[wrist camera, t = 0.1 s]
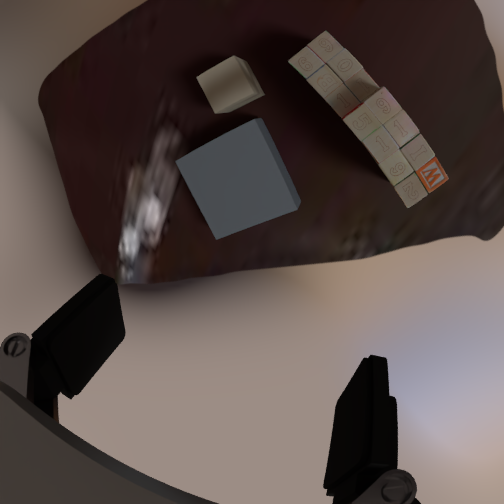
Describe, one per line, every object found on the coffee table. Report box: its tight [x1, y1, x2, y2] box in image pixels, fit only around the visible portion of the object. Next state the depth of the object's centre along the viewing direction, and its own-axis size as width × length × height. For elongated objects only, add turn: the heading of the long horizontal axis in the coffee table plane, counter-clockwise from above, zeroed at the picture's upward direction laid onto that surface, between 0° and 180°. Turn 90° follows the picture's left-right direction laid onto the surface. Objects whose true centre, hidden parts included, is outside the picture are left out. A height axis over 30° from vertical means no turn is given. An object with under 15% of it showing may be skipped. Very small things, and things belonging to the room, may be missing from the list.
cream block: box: [196, 56, 265, 113], centre depth 37 cm, size 6×6×6 cm
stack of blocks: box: [288, 31, 449, 208], centre depth 32 cm, size 21×6×12 cm, turn 43°
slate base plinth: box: [175, 118, 301, 240], centre depth 44 cm, size 14×14×4 cm
